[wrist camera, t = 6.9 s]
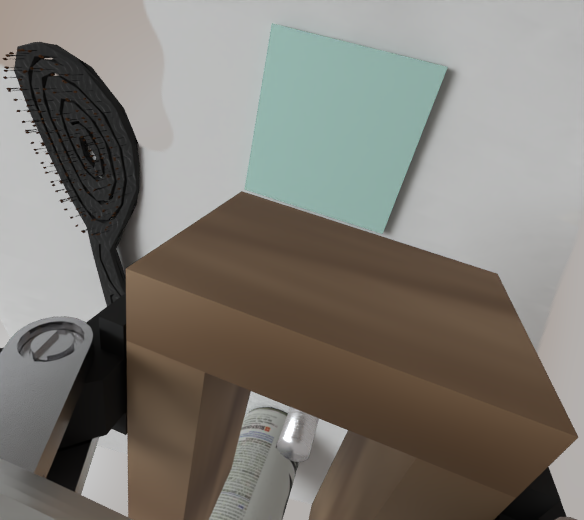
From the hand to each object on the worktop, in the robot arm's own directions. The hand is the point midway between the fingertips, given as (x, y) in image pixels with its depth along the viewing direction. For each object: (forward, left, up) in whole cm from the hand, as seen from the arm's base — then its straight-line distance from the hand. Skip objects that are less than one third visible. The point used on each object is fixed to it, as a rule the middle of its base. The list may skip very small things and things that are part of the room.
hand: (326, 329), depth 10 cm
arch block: (+3, 0, 0) cm, 3 cm away
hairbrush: (+9, -20, -16) cm, 27 cm away
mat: (-3, -3, -15) cm, 16 cm away
